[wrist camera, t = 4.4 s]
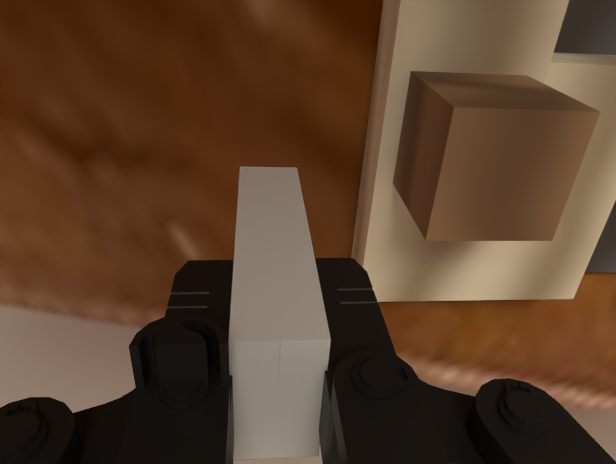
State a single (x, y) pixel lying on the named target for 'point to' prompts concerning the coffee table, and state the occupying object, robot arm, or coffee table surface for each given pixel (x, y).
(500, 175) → the walnut cube
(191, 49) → the coffee table surface
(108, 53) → the coffee table surface
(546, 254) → the board
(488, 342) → the coffee table surface
